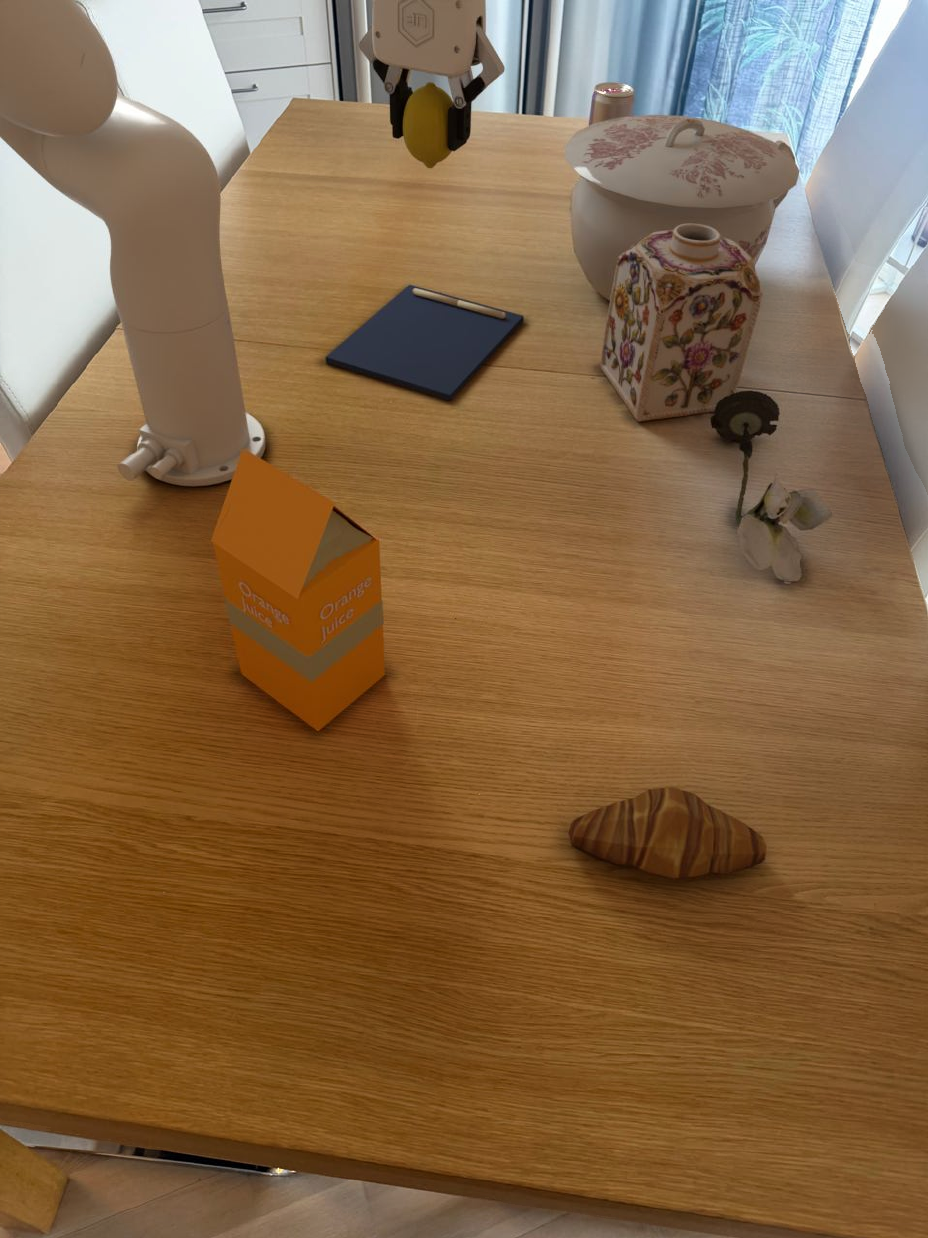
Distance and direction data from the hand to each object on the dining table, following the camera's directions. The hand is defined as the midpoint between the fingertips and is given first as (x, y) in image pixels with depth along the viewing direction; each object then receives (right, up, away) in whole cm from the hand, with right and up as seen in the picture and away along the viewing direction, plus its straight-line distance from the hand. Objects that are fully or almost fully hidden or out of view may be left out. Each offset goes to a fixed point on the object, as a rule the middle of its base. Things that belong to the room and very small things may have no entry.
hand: (429, 138), depth 94 cm
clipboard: (-1, -16, +16) cm, 23 cm away
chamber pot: (+29, -6, +27) cm, 40 cm away
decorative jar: (+26, -23, +11) cm, 36 cm away
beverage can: (+24, +15, +47) cm, 55 cm away
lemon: (0, -2, +2) cm, 3 cm away
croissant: (+17, -65, -29) cm, 73 cm away
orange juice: (-9, -53, -19) cm, 57 cm away
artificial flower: (+32, -38, -3) cm, 50 cm away
